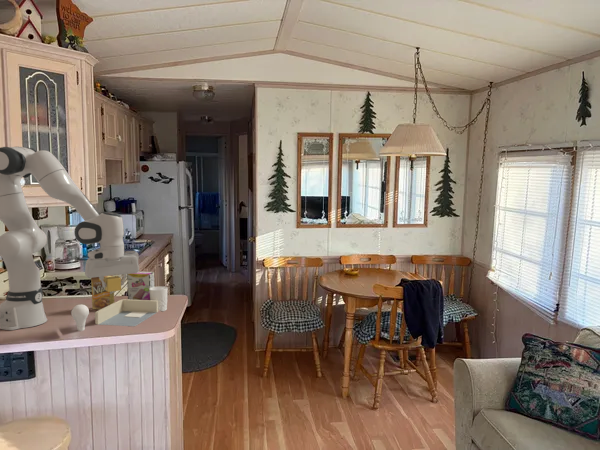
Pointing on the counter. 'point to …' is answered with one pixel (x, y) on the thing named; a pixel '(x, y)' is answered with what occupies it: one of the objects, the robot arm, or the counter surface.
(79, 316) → the lightbulb
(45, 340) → the counter surface
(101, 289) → the candy box
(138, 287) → the candy bar box
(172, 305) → the counter surface
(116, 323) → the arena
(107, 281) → the cube
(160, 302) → the white cup
